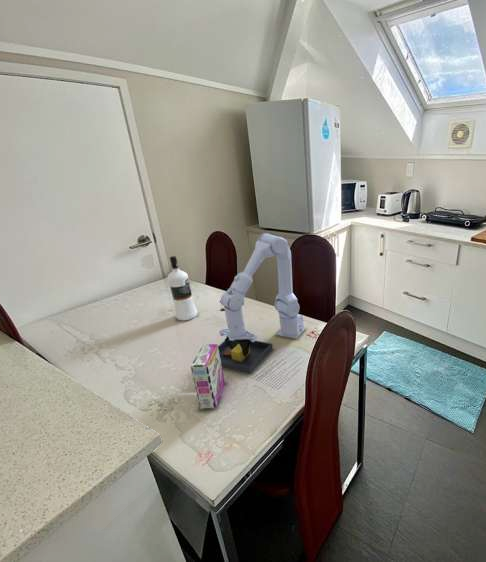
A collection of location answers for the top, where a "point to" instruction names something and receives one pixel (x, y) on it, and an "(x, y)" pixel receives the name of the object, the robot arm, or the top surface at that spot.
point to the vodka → (181, 292)
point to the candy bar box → (208, 376)
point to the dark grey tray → (251, 361)
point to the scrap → (227, 353)
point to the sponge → (238, 353)
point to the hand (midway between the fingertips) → (241, 353)
